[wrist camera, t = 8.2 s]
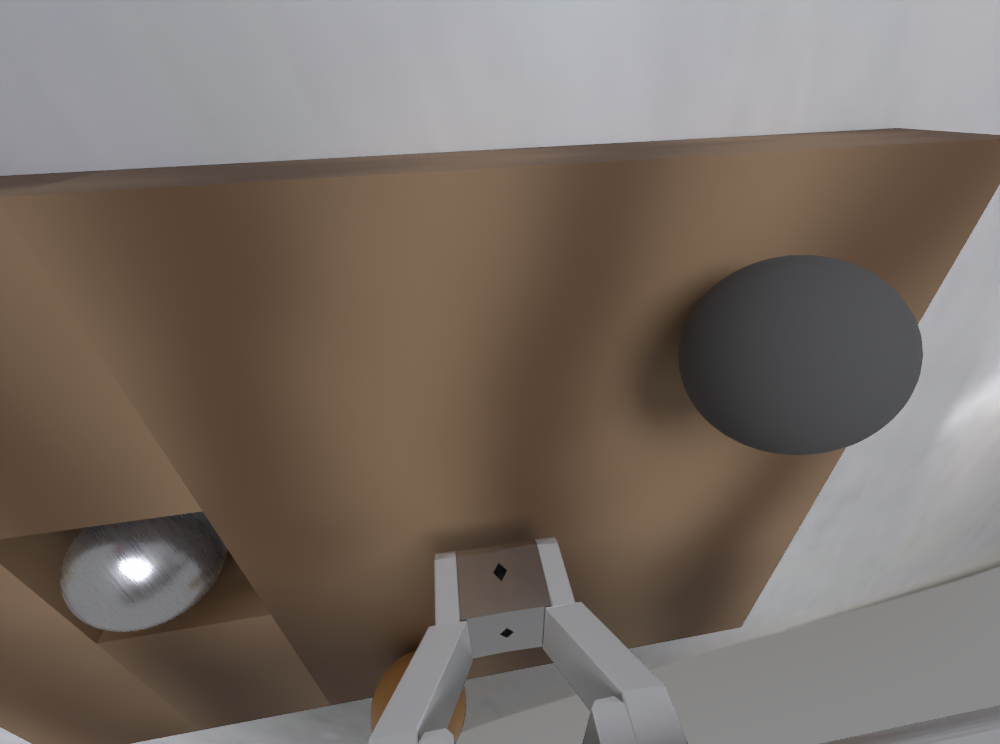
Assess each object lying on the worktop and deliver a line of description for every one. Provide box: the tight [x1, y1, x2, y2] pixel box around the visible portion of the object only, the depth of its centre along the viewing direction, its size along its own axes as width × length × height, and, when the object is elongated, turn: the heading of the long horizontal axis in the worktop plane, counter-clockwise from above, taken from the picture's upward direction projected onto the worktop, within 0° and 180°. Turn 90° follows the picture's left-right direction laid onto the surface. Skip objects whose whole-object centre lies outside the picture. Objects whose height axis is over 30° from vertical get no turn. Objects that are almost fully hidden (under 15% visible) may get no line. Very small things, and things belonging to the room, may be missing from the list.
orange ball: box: [371, 651, 466, 742], centre depth 13 cm, size 3×3×3 cm
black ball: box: [679, 255, 923, 455], centre depth 7 cm, size 3×3×3 cm
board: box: [0, 128, 1000, 744], centre depth 12 cm, size 26×18×2 cm
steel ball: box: [60, 511, 228, 632], centre depth 11 cm, size 3×3×3 cm
